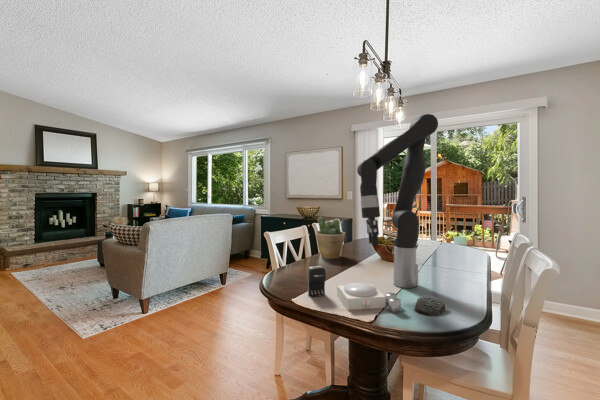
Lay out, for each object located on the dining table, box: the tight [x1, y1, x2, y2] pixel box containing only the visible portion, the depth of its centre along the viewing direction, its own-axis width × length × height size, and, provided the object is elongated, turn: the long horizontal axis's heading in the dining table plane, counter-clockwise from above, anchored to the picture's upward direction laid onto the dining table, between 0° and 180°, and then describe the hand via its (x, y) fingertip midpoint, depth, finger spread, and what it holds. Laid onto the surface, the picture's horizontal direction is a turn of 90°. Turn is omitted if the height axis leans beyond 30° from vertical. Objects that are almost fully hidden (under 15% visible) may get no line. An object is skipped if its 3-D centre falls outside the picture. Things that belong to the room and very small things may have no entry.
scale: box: [336, 282, 386, 311], centre depth 107 cm, size 14×14×5 cm
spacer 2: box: [388, 297, 402, 315], centre depth 98 cm, size 4×4×4 cm
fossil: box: [414, 295, 446, 317], centre depth 101 cm, size 10×13×4 cm
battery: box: [307, 265, 327, 297], centre depth 113 cm, size 7×4×11 cm, turn 102°
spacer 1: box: [384, 292, 398, 308], centre depth 103 cm, size 4×4×4 cm
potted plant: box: [315, 216, 346, 260], centre depth 178 cm, size 18×19×25 cm
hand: (373, 244), depth 120 cm, fingers open, 8 cm apart
